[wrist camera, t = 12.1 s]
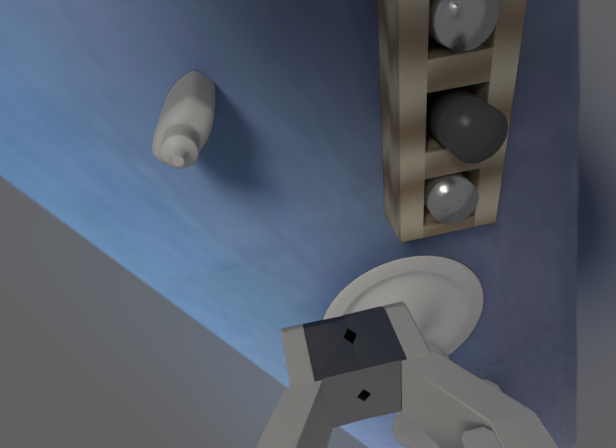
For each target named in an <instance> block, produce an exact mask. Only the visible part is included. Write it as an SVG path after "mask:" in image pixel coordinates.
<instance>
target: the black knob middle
mask: <svg viewBox="0 0 616 448" xmlns="http://www.w3.org/2000/svg"><path fill="white" fill-rule="evenodd" d="M426 126H427V129H428V131H429V132H430V134H431V135H432V136H434V137H435V138H436V139H437V140H438V141H439V142H440V143H441V144H442V145H443V146H444V147H446V148H447V149H448V150H449V151H450V152H451V153H452V154H453V155H454V156H455V157H456V158H458V159H459V160H460V161H462V162H464V163H470V164H474V163H479V162H482V161H485V160H487V159H488V158H490V157H492V156H493V155H494V154H495V153H496V152H497V151H498V150H499V149H500V148H501V146H502V145H503V143H504V141H505V139H506V137H507V133H508V122H507V119H506V117H505V115H504V114H503V113H502V112H501V111H500V110H498V109H497V108H495V107H493V106H492V105H490V104H489V103H487V102H485V101H484V100H482V99H480V98H479V97H477V96H475V95H474V94H472V93H471V92H469V91H467V90H465V89H462V88H453V89H449V90H446V91H444V92H443V93H441V94H440V95H438V96H437V97H436V98H435V99H434V100H433V102H432V103H431V105H430V106H429V109H428V111H427V115H426Z"/></svg>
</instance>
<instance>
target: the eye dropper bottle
mask: <svg viewBox="0 0 616 448" xmlns="http://www.w3.org/2000/svg"><path fill="white" fill-rule="evenodd" d="M214 115H215V85H214V83H213V82H212V81H211V80H210V79H208V78H207V77H206V76H204V75H203V74H201V73H200V72H198V71H191V72H189V73H187V74H185V75H184V76H183V77H181V78H180V79H179V80H178V81H177V82H176V83H175V84H174V85H173V87H172V88H171V90H170V91H169V93H168V95H167V97H166V99H165V101H164V104H163V107H162V110H161V114H160V117H159V120H158V123H157V127H156V130H155V134H154V138H153V145H152V152H153V155H154V156H155V157H156V158H157V159H158V160H160V161H161V162H163V163H165V164H167V165H169V166H171V167H175V168H180V169H181V168H182V169H183V168H187V167H190V166H191V165H193V164H194V163H195V162H196V161H197V158H198V156H199V152H200V151H201V149H202V148H203V147H204V145H205V143H206V142H207V140H208V138H209V135H210V133H211V130H212V126H213V122H214Z"/></svg>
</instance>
